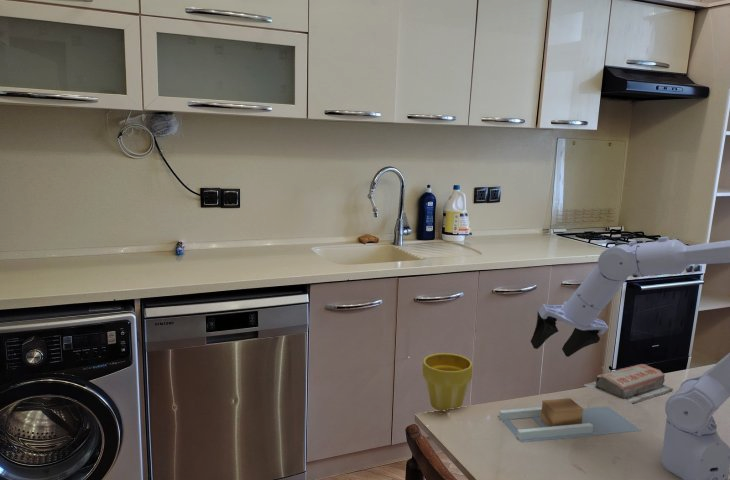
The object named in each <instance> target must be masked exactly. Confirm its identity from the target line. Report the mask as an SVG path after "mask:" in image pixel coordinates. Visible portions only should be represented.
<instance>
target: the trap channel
mask: <svg viewBox="0 0 730 480" xmlns="http://www.w3.org/2000/svg"><path fill="white" fill-rule="evenodd" d="M582 408H583V417H582V424H574V425H563V426H553V427H549V426H548V425H547V424H546V423H544V422H543V421H542V420H541V413H542V406H537V407H527V408H525V407H524V408H515V409H504V410H503V409H500V410H499V415H497V417H498V418H499V419H500V421H501V422H502V423H503V424H504V425H505V426H506V427H507V428H508V429H509V430H510V431H511V433H512V434H513V435H514V436H515V437H516V438H517V439H518V440H519V442H520V443H531V442H538V441H539V442H540V441H549V440H561V439H569V438H578V437H579V438H581V437H591V436H592V437H593V436H603V435H612V434H622V433H631V432H632V433H633V432H641V431H642V429H640V428H638V427H637V426H636V425H635V424H634V423H631V422H630V421H629V420H628V419H626V417H623V416H622V415H621V414H620V413H618V412H617V411H615V410H614V409H613V408H611V407H610V406H609V405H606V406H595V407H582ZM528 418H529V419H530V418H531V419H532V420H533V421H535V423H537V425H538V426H539V427H533V428H524V429H523V428H522V429H521V428H520V429H518V428H517V427H516V426H515V425H514V423H512V421H511V420H517V419H519V420H522V419H528Z"/></svg>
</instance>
